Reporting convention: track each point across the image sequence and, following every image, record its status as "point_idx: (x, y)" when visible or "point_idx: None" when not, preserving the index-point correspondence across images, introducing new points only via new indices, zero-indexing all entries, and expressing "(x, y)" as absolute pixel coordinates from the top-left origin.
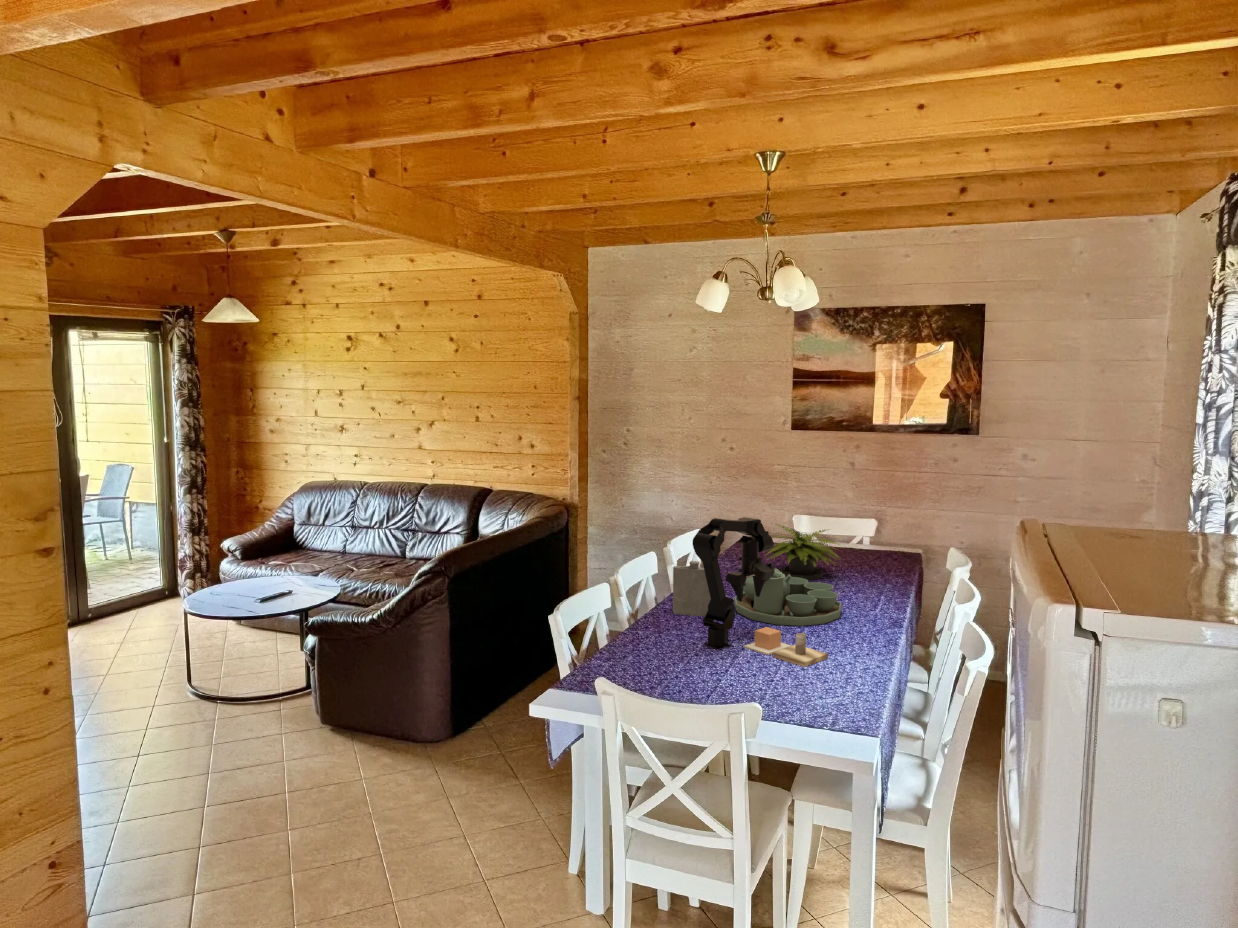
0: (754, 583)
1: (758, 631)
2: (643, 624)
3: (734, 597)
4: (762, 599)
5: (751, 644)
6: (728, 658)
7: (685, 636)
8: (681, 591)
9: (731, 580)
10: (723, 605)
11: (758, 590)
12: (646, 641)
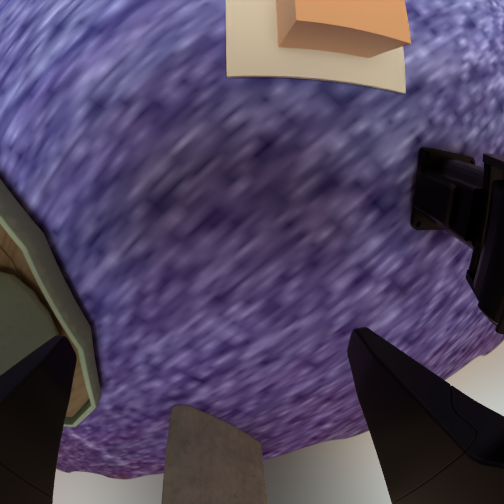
0: (50, 474)
1: (405, 21)
2: None
3: (75, 426)
4: (20, 352)
5: (370, 75)
6: (492, 88)
7: (418, 320)
8: (258, 492)
9: None
10: None
11: (39, 389)
12: (478, 330)
